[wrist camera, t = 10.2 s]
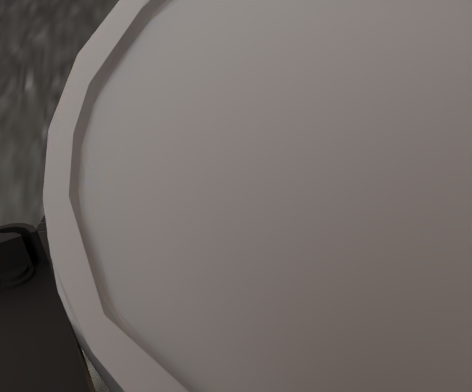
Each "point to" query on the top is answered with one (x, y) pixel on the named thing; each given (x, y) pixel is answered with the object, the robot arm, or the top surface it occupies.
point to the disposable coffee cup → (268, 196)
